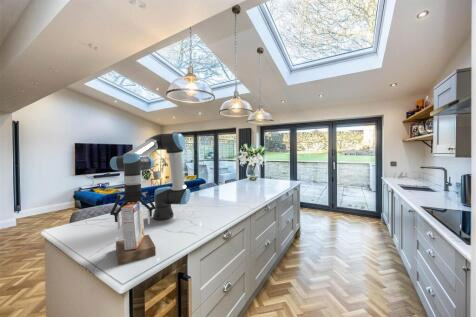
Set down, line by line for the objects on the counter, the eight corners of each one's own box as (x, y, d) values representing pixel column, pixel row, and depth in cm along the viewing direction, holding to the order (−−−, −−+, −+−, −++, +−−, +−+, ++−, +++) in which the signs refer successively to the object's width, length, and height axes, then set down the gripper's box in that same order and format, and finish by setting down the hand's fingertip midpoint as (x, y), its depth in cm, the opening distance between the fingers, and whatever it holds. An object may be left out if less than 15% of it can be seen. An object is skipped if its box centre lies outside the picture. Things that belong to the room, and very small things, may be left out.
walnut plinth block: (148, 243, 118) (148, 234, 118) (155, 256, 103) (155, 246, 102) (116, 250, 109) (115, 241, 109) (118, 266, 94) (117, 255, 94)
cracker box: (133, 238, 112) (130, 200, 111) (145, 237, 113) (142, 199, 112) (123, 251, 98) (120, 207, 97) (136, 249, 99) (133, 206, 98)
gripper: (102, 187, 95) (104, 233, 96) (160, 182, 107) (161, 223, 108) (103, 185, 102) (105, 227, 103) (158, 180, 114) (159, 219, 115)
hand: (134, 225), depth 105 cm, fingers open, 13 cm apart
